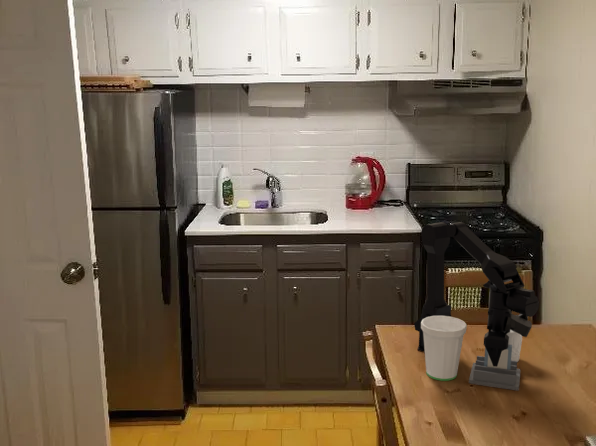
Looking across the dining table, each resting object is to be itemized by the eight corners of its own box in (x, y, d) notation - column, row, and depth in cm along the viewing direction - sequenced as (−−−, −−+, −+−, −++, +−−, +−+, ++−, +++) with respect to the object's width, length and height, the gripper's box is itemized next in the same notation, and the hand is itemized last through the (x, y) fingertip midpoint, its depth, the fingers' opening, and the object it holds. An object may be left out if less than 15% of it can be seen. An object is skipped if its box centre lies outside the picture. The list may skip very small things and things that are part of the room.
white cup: (515, 366, 187) (518, 334, 185) (489, 360, 192) (491, 328, 189) (524, 357, 193) (527, 326, 191) (498, 351, 198) (500, 320, 196)
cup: (427, 361, 191) (429, 312, 187) (469, 370, 184) (472, 320, 181) (412, 377, 180) (414, 326, 177) (456, 388, 174) (459, 334, 171)
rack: (468, 383, 177) (469, 371, 176) (473, 365, 188) (473, 354, 187) (518, 390, 172) (519, 378, 171) (520, 372, 183) (521, 360, 182)
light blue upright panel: (483, 373, 180) (485, 343, 178) (484, 371, 181) (485, 341, 180) (509, 377, 178) (511, 347, 176) (510, 375, 179) (512, 344, 177)
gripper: (530, 321, 164) (526, 378, 167) (531, 298, 181) (527, 350, 184) (485, 316, 168) (481, 371, 171) (490, 294, 185) (487, 345, 188)
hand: (496, 359), depth 179 cm, fingers open, 9 cm apart
